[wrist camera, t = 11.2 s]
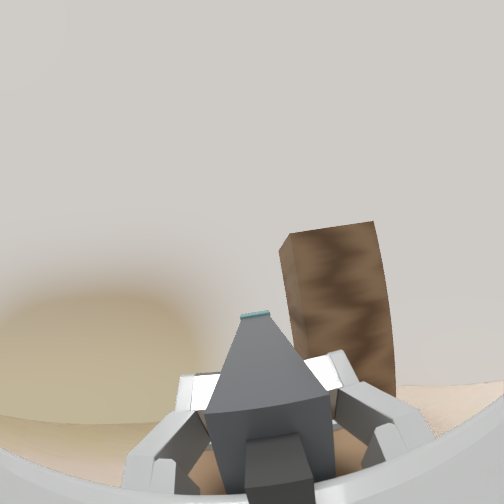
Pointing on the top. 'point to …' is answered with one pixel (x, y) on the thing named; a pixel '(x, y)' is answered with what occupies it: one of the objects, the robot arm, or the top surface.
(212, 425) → the marker
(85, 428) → the top surface
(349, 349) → the walnut stand
